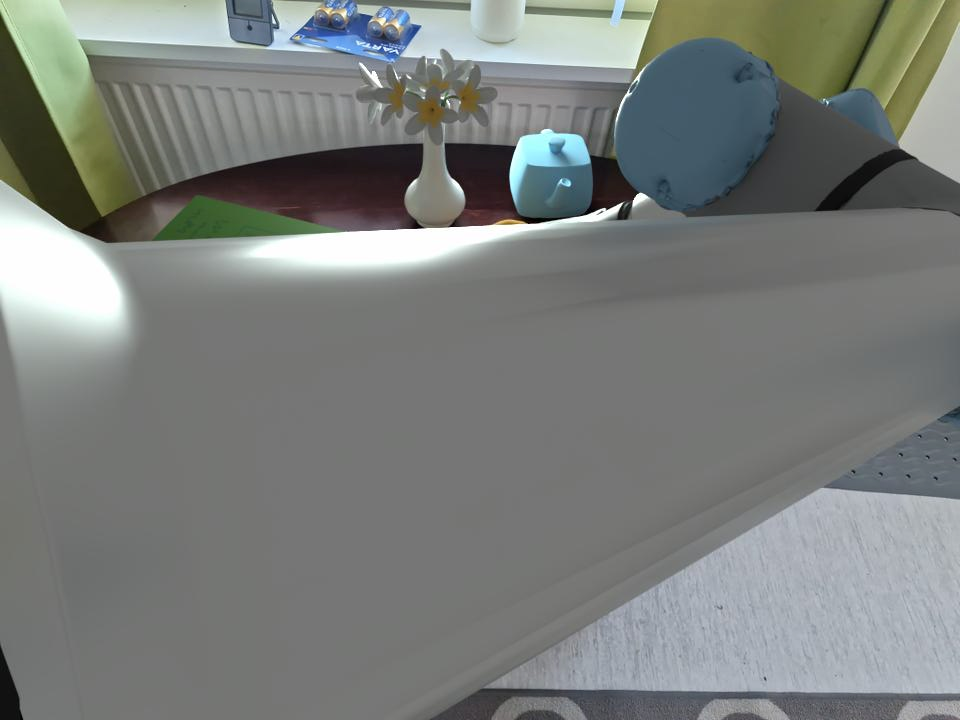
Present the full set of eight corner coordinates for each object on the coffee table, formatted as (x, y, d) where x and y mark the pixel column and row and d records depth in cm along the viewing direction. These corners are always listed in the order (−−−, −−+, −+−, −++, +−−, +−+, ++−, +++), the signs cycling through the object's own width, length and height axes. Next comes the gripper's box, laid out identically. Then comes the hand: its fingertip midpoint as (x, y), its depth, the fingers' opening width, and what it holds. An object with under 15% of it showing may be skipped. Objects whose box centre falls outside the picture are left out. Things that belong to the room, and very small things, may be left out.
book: (126, 296, 88) (115, 276, 85) (204, 215, 100) (196, 195, 97) (292, 342, 84) (286, 322, 81) (353, 252, 96) (350, 232, 93)
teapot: (518, 246, 98) (525, 182, 89) (504, 175, 109) (509, 112, 100) (598, 243, 99) (613, 179, 90) (575, 174, 110) (587, 111, 102)
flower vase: (376, 191, 105) (360, 34, 86) (489, 196, 105) (499, 40, 86) (366, 244, 97) (346, 83, 78) (489, 249, 97) (499, 90, 78)
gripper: (657, 409, 41) (437, 462, 55) (697, 186, 56) (517, 273, 70) (589, 332, 38) (373, 409, 52) (651, 118, 53) (472, 223, 67)
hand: (456, 331), depth 61 cm, fingers open, 13 cm apart
